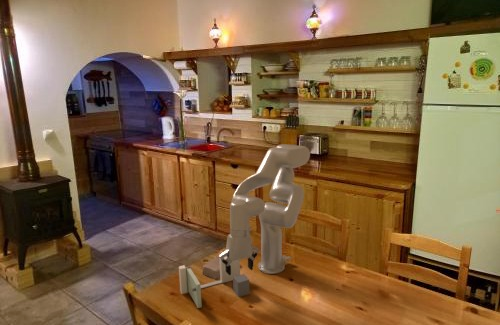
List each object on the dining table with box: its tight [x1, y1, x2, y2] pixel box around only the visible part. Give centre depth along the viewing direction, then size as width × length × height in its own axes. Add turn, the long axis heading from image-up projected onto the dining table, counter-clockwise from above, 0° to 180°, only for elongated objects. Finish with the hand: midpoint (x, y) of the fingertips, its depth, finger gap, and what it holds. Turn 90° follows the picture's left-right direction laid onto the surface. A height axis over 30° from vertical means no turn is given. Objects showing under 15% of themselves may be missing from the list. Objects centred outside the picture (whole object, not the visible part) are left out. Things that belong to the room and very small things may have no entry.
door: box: [185, 266, 203, 309], centre depth 144 cm, size 15×3×10 cm, turn 26°
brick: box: [202, 251, 226, 280], centre depth 168 cm, size 17×8×5 cm, turn 148°
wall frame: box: [178, 256, 241, 295], centre depth 154 cm, size 27×2×12 cm, turn 116°
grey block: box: [232, 273, 250, 298], centre depth 149 cm, size 5×5×6 cm
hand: (239, 271), depth 147 cm, fingers open, 9 cm apart
